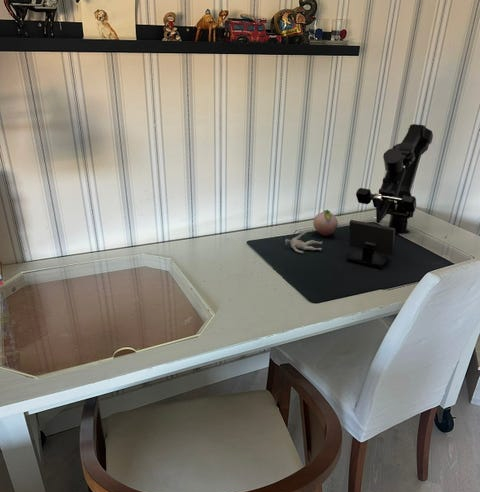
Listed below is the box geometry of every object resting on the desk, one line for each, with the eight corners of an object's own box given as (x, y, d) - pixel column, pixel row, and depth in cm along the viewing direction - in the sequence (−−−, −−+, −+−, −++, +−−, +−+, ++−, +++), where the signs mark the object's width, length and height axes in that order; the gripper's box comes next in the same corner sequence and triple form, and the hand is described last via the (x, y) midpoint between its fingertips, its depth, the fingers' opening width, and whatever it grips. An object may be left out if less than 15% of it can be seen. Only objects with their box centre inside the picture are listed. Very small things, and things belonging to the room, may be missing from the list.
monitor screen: (351, 243, 162) (350, 219, 155) (393, 252, 155) (395, 228, 148) (349, 247, 161) (348, 222, 154) (391, 256, 154) (393, 231, 147)
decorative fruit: (309, 231, 182) (312, 205, 178) (331, 231, 183) (334, 205, 178) (315, 240, 173) (318, 213, 169) (338, 240, 174) (341, 213, 170)
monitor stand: (355, 253, 164) (357, 238, 162) (388, 260, 159) (391, 245, 157) (347, 261, 157) (349, 246, 155) (380, 269, 152) (383, 253, 150)
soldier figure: (321, 257, 162) (288, 247, 160) (314, 262, 167) (282, 252, 164) (323, 236, 165) (291, 226, 162) (317, 241, 170) (285, 231, 167)
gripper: (422, 198, 163) (408, 239, 159) (367, 189, 172) (353, 228, 168) (421, 180, 154) (406, 223, 150) (363, 171, 162) (348, 212, 158)
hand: (377, 222), depth 157 cm, fingers closed
